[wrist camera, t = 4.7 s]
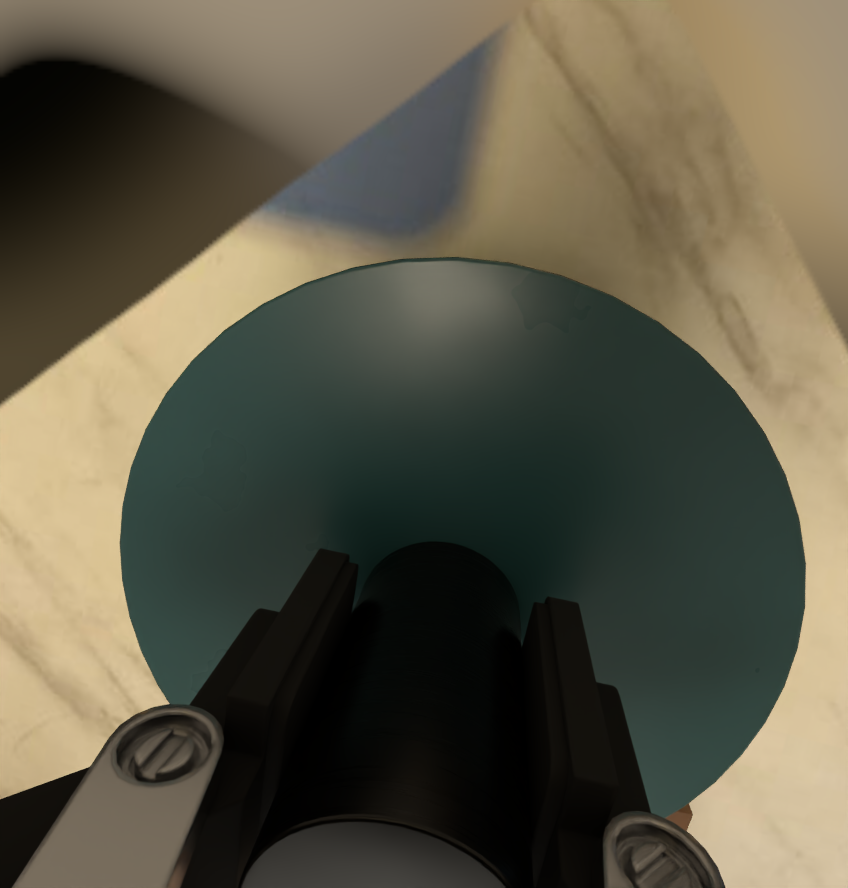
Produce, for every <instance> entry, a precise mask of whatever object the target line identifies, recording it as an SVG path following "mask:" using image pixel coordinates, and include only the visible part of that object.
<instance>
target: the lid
mask: <svg viewBox="0 0 848 888" xmlns="http://www.w3.org/2000/svg"><path fill="white" fill-rule="evenodd" d="M320 548H322V549H327V550H331V551H336V552H341V553H346V554H349V556H350V560H349V562H351V563H355V564H358V575H357V582H356V589H355V596H354V603H353V610H352V615H351V617H350V620H349V622H348V624H347V627H346V629H345V631H344V634H343V636H342V638H341V641H340V643H339V646H338V648H337V650H336V653H335V655H334V657H333V660H332V662H331V665H330V667H329V669H328V672H327V674H326V676H325V679H324V681H323V683H322V686H321V688H320V691H319V693H318V695H317V698H316V700H315V702H314V705H313V707H312V710H311V712H310V714H309V717H308V719H307V721H306V724H305V726H304V728H303V731H302V733H301V736H300V738H299V740H298V743H297V745H296V747H295V750H294V752H293V754H292V757H291V759H290V762H289V764H288V766H287V769H286V771H285V773H284V776H283V778H282V781H281V783H280V785H279V788H278V790H277V792H276V795H275V797H274V799H273V802H272V804H271V807H270V809H269V811H268V814H267V816H266V818H265V821H264V823H263V826H262V828H261V830H260V833H259V835H258V837H257V840H256V842H255V844H254V847H253V849H252V852H251V854H250V856H249V859H248V861H247V863H246V866H245V868H244V871H243V873H242V876H241V878H240V881H239V886H238V888H534V884H533V864H532V844H531V824H530V804H529V784H528V765H527V745H526V725H525V705H524V685H523V665H522V645H523V642H524V638H525V634H526V630H527V626H528V622H529V618H530V614H531V610H532V607H533V604H534V602H539V603H544V602H545V599H546V598H547V597H548V596H549V597H554V598H558V599H563V600H568V601H573V602H577V603H578V604H579V606H580V611H581V616H582V620H583V625H584V629H585V634H586V638H587V643H588V647H589V652H590V656H591V661H592V665H593V670H594V674H595V679H596V682H599V683H603V684H608V685H612V686H615V687H616V688H617V690H618V692H619V695H620V698H621V702H622V706H623V709H624V713H625V717H626V721H627V724H628V728H629V732H630V735H631V739H632V743H633V747H634V750H635V754H636V758H637V762H638V765H639V769H640V773H641V777H642V780H643V784H644V788H645V791H646V795H647V799H648V803H649V806H650V810H651V813H652V814H656V815H659V816H661V817H663V818H666V817H668V816H670V815H671V814H673V813H675V812H676V811H678V810H680V809H681V808H683V807H684V806H686V805H687V804H688V803H690V802H691V801H692V800H693V799H695V798H696V797H697V796H698V795H700V794H701V793H702V792H703V791H705V790H706V789H707V788H709V787H710V786H711V785H712V784H714V783H715V782H716V781H717V780H718V779H719V778H720V777H721V776H722V775H723V774H724V773H725V771H726V770H727V769H728V768H729V767H730V766H731V765H732V764H733V763H734V762H735V761H736V760H737V759H738V758H739V757H740V756H741V755H742V754H743V752H744V751H745V750H746V748H747V747H748V746H749V744H750V743H751V741H752V740H753V739H754V737H755V736H756V735H757V733H758V732H759V731H760V729H761V728H762V726H763V725H764V724H765V722H766V720H767V718H768V717H769V715H770V713H771V711H772V709H773V707H774V705H775V703H776V701H777V700H778V698H779V696H780V694H781V692H782V690H783V688H784V686H785V683H786V680H787V677H788V674H789V671H790V669H791V666H792V663H793V660H794V657H795V654H796V651H797V648H798V643H799V637H800V632H801V626H802V620H803V615H804V609H805V572H806V562H805V555H804V548H803V541H802V535H801V528H800V521H799V516H798V513H797V510H796V507H795V504H794V500H793V497H792V494H791V491H790V488H789V484H788V481H787V478H786V475H785V473H784V471H783V469H782V467H781V465H780V463H779V461H778V459H777V457H776V455H775V453H774V451H773V449H772V447H771V445H770V443H769V441H768V438H767V436H766V434H765V432H764V431H763V429H762V428H761V427H760V425H759V424H758V422H757V421H756V419H755V418H754V417H753V415H752V414H751V412H750V411H749V410H748V408H747V407H746V405H745V404H744V402H743V401H742V400H741V398H740V397H739V395H738V394H737V393H736V391H735V390H734V389H733V388H732V387H731V386H730V385H729V384H728V383H727V382H726V381H725V380H724V379H723V378H722V377H721V376H720V374H719V373H718V372H717V371H716V370H715V369H714V368H713V367H712V366H711V365H710V364H709V363H708V362H707V361H706V360H705V359H704V358H703V357H702V356H701V355H700V354H699V353H698V352H697V351H695V350H694V349H693V348H691V347H690V346H689V345H688V344H686V343H685V342H684V341H682V340H681V339H680V338H679V337H677V336H676V335H675V334H673V333H672V332H671V331H670V330H668V329H667V328H666V327H664V326H663V325H662V324H661V323H659V322H658V321H656V320H654V319H652V318H651V317H649V316H647V315H645V314H644V313H642V312H640V311H638V310H637V309H635V308H633V307H631V306H630V305H628V304H626V303H624V302H623V301H621V300H619V299H617V298H616V297H614V296H612V295H610V294H607V293H605V292H602V291H600V290H597V289H595V288H592V287H589V286H587V285H584V284H582V283H579V282H577V281H574V280H572V279H569V278H567V277H564V276H562V275H558V274H554V273H550V272H546V271H542V270H538V269H534V268H530V267H526V266H521V265H517V264H513V263H509V262H500V261H490V260H481V259H471V258H461V257H443V258H414V259H400V260H394V261H388V262H382V263H377V264H371V265H365V266H360V267H354V268H350V269H347V270H344V271H341V272H338V273H335V274H332V275H329V276H326V277H322V278H319V279H316V280H313V281H310V282H307V283H304V284H302V285H300V286H298V287H296V288H294V289H292V290H290V291H288V292H286V293H284V294H282V295H280V296H278V297H276V298H274V299H272V300H270V301H268V302H266V303H264V304H262V305H261V306H259V307H258V308H256V309H255V310H253V311H252V312H250V313H249V314H247V315H246V316H245V317H243V318H242V319H240V320H239V321H237V322H236V323H234V324H233V325H232V326H230V327H229V328H227V329H226V330H224V331H223V332H222V333H221V334H220V335H219V336H218V337H217V338H216V339H215V340H214V341H213V342H212V343H210V344H209V345H208V346H207V347H206V348H205V349H204V350H203V351H202V352H201V353H200V354H199V355H198V356H197V357H195V358H194V359H193V360H192V361H191V363H190V364H189V365H188V367H187V368H186V369H185V370H184V372H183V373H182V374H181V375H180V377H179V378H178V379H177V381H176V382H175V383H174V384H173V386H172V387H171V388H170V389H169V391H168V392H167V393H166V395H165V396H164V398H163V400H162V402H161V403H160V405H159V407H158V409H157V411H156V412H155V414H154V416H153V418H152V419H151V421H150V423H149V425H148V426H147V428H146V430H145V433H144V435H143V438H142V440H141V443H140V446H139V448H138V451H137V453H136V456H135V459H134V461H133V464H132V466H131V470H130V475H129V479H128V484H127V488H126V493H125V497H124V502H123V507H122V521H121V534H120V553H121V568H122V582H123V586H124V591H125V596H126V601H127V606H128V611H129V616H130V619H131V622H132V625H133V628H134V631H135V634H136V637H137V640H138V643H139V646H140V648H141V651H142V654H143V656H144V658H145V660H146V662H147V664H148V666H149V668H150V670H151V672H152V674H153V676H154V678H155V680H156V682H157V684H158V686H159V688H160V689H161V691H162V692H163V694H164V695H165V697H166V699H167V700H168V702H169V703H170V704H187V705H190V703H191V702H192V700H193V699H194V698H195V696H196V695H197V693H198V692H199V690H200V689H201V688H202V686H203V685H204V683H205V682H206V680H207V679H208V678H209V676H210V675H211V673H212V672H213V670H214V669H215V668H216V666H217V665H218V663H219V662H220V660H221V659H222V658H223V656H224V655H225V653H226V652H227V650H228V649H229V648H230V646H231V645H232V643H233V642H234V640H235V639H236V638H237V636H238V635H239V633H240V632H241V630H242V629H243V628H244V626H245V625H246V623H247V622H248V620H249V619H250V618H251V616H252V615H253V613H254V612H255V611H256V610H257V609H259V608H263V609H267V610H272V611H276V612H280V610H281V609H282V607H283V606H284V604H285V603H286V601H287V599H288V598H289V596H290V595H291V593H292V591H293V590H294V588H295V587H296V585H297V583H298V582H299V580H300V579H301V577H302V575H303V574H304V572H305V571H306V569H307V568H308V566H309V564H310V563H311V561H312V560H313V558H314V556H315V555H316V553H317V552H318V550H319V549H320Z"/></svg>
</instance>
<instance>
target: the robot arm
mask: <svg viewBox="0 0 848 888" xmlns="http://www.w3.org/2000/svg"><path fill="white" fill-rule="evenodd" d="M349 560H350V556H349V554H346V553H341V552H336V551H331V550H327V549H322V548H320V549H319V550H318V552H317V553H316V555H315V556H314V558H313V560H312V561H311V563H310V564H309V566H308V568H307V569H306V571H305V572H304V574H303V575H302V577H301V579H300V580H299V582H298V583H297V585H296V587H295V588H294V590H293V591H292V593H291V595H290V596H289V598H288V599H287V601H286V603H285V604H284V606H283V607H282V609H281V610H280V612H276V611H272V610H267V609H263V608H259V609H257V610H256V611H255V612H254V613H253V615H252V616H251V618H250V619H249V620H248V622H247V623H246V625H245V626H244V628H243V629H242V630H241V632H240V633H239V635H238V636H237V638H236V639H235V640H234V642H233V643H232V645H231V646H230V648H229V649H228V650H227V652H226V653H225V655H224V656H223V658H222V659H221V660H220V662H219V663H218V665H217V666H216V668H215V669H214V670H213V672H212V673H211V675H210V676H209V678H208V679H207V680H206V682H205V683H204V685H203V686H202V688H201V689H200V690H199V692H198V693H197V695H196V696H195V698H194V699H193V700H192V702H191V703H190V705H187V704H168V705H163V706H158V707H153V708H150V709H148V710H145V711H143V712H140V713H138V714H136V715H134V716H132V717H131V718H130V719H128V720H127V721H125V722H124V723H122V724H121V725H120V726H119V727H118V728H117V729H116V730H115V732H114V733H113V734H112V735H111V736H110V737H109V739H108V740H107V742H106V743H105V745H104V746H103V748H102V749H101V751H100V753H99V754H98V756H97V757H96V759H95V760H94V762H93V763H92V765H91V766H90V767H88V768H86V769H83V770H80V771H77V772H75V773H72V774H69V775H66V776H64V777H61V778H58V779H55V780H53V781H50V782H47V783H44V784H42V785H39V786H36V787H33V788H31V789H28V790H25V791H22V792H20V793H17V794H14V795H11V796H9V797H6V798H3V799H0V888H238V886H239V881H240V878H241V876H242V873H243V871H244V868H245V866H246V863H247V861H248V859H249V856H250V854H251V852H252V849H253V847H254V844H255V842H256V840H257V837H258V835H259V833H260V830H261V828H262V826H263V823H264V821H265V818H266V816H267V814H268V811H269V809H270V807H271V804H272V802H273V799H274V797H275V795H276V792H277V790H278V788H279V785H280V783H281V781H282V778H283V776H284V773H285V771H286V769H287V766H288V764H289V762H290V759H291V757H292V754H293V752H294V750H295V747H296V745H297V743H298V740H299V738H300V736H301V733H302V731H303V728H304V726H305V724H306V721H307V719H308V717H309V714H310V712H311V710H312V707H313V705H314V702H315V700H316V698H317V695H318V693H319V691H320V688H321V686H322V683H323V681H324V679H325V676H326V674H327V672H328V669H329V667H330V665H331V662H332V660H333V657H334V655H335V653H336V650H337V648H338V646H339V643H340V641H341V638H342V636H343V634H344V631H345V629H346V627H347V624H348V622H349V620H350V617H351V615H352V610H353V603H354V596H355V589H356V582H357V575H358V564H355V563H351V562H349ZM522 665H523V685H524V705H525V725H526V745H527V765H528V784H529V804H530V824H531V844H532V864H533V884H534V888H725V885H724V882H723V880H722V877H721V875H720V872H719V870H718V867H717V866H716V864H715V863H714V861H713V860H712V858H711V857H710V855H709V854H708V852H707V851H706V849H705V848H704V847H703V846H702V845H701V844H700V843H699V842H698V841H697V840H696V839H695V838H694V837H693V836H692V835H691V834H689V833H688V832H687V831H685V830H684V829H682V828H681V827H679V826H678V825H677V824H675V823H674V822H672V821H670V820H667V819H665V818H663V817H661V816H659V815H656V814H652V813H651V810H650V806H649V803H648V799H647V795H646V791H645V788H644V784H643V780H642V777H641V773H640V769H639V765H638V762H637V758H636V754H635V750H634V747H633V743H632V739H631V735H630V732H629V728H628V724H627V721H626V717H625V713H624V709H623V706H622V702H621V698H620V695H619V692H618V690H617V688H616V687H615V686H612V685H608V684H603V683H599V682H596V679H595V674H594V670H593V665H592V661H591V656H590V652H589V647H588V643H587V638H586V634H585V629H584V625H583V620H582V616H581V611H580V606H579V604H578V603H577V602H573V601H568V600H563V599H558V598H554V597H549V596H548V597H547V598H546V599H545V602H544V603H539V602H534V604H533V607H532V610H531V614H530V618H529V622H528V626H527V630H526V634H525V638H524V642H523V645H522Z"/></svg>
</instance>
